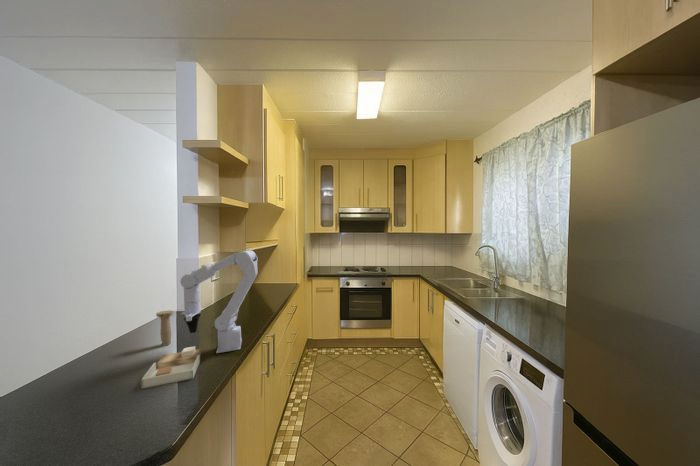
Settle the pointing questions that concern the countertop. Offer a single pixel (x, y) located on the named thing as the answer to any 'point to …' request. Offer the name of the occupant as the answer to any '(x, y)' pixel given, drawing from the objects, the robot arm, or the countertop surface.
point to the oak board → (177, 359)
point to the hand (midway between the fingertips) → (193, 332)
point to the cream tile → (188, 351)
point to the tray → (177, 374)
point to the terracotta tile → (164, 371)
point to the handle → (165, 326)
